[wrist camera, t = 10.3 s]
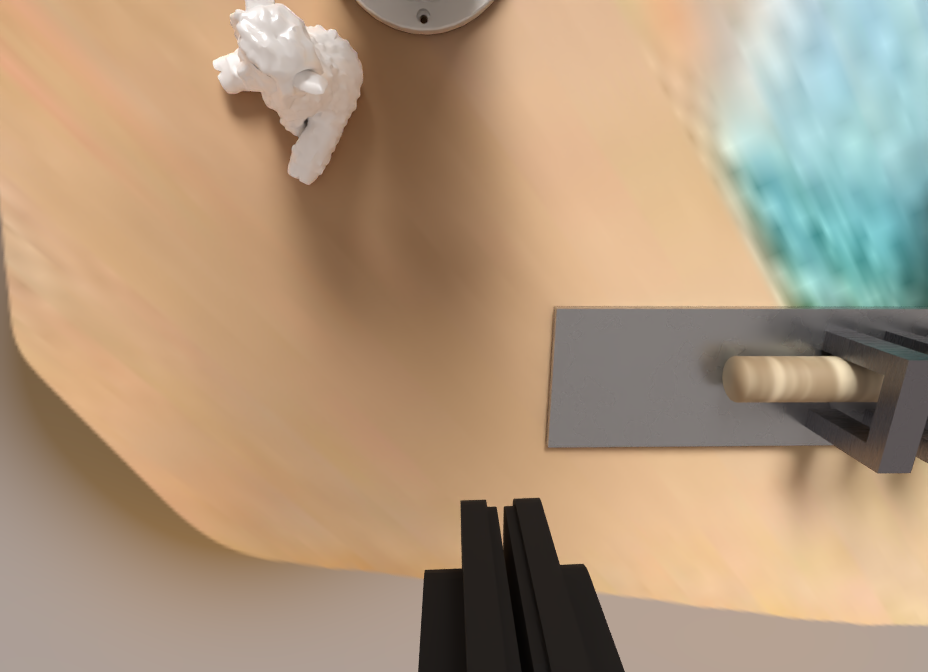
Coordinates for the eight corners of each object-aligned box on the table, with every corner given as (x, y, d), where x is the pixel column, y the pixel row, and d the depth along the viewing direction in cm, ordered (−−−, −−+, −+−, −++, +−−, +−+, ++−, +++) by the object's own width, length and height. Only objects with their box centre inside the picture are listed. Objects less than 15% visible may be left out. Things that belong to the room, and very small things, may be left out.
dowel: (725, 404, 39) (752, 400, 35) (720, 360, 39) (746, 352, 36) (1011, 403, 39) (1066, 399, 36) (1001, 360, 40) (1053, 352, 37)
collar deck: (554, 306, 38) (584, 337, 29) (1040, 307, 39) (1203, 337, 31) (546, 442, 41) (571, 506, 33) (994, 439, 42) (1130, 499, 34)
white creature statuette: (215, 71, 33) (88, 3, 21) (313, -12, 32) (235, -133, 20) (306, 190, 35) (236, 186, 23) (400, 116, 34) (376, 75, 22)
